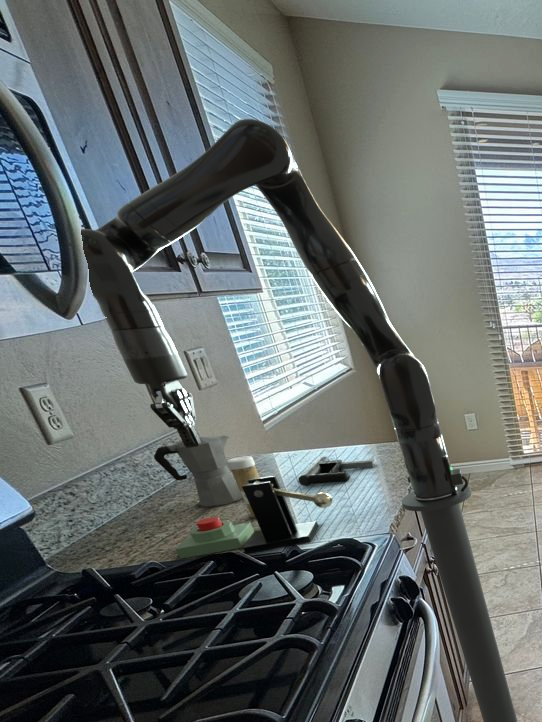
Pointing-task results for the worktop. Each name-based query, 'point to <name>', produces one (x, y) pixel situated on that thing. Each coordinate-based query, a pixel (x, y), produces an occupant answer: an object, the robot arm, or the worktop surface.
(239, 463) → the sprinkles bottle
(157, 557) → the worktop surface
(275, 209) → the robot arm
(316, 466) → the black handled frame
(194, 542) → the button box
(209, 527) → the red button
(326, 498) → the switch lever
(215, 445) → the coffeepot
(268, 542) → the switch bracket
